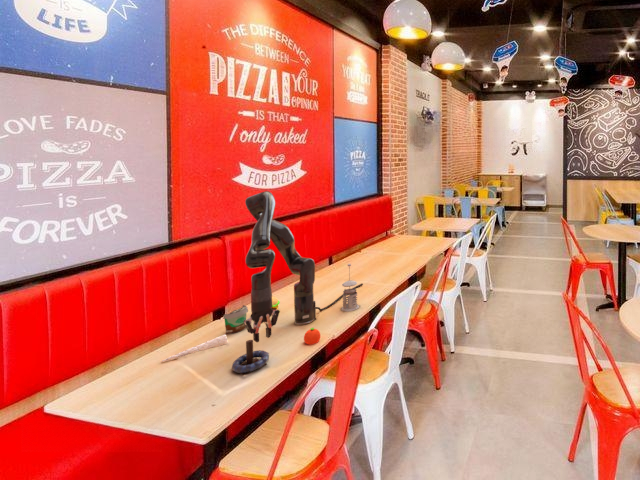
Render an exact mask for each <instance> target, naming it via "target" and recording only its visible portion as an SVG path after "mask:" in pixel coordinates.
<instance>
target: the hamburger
mask: <svg viewBox="0 0 640 480" xmlns="http://www.w3.org/2000/svg"><path fill="white" fill-rule="evenodd" d="M280 303H281V301H280V300H279V299H278V298H277V297H276V296H274V295H272V309H273V310H275V309H276V310H279V305H280Z"/></svg>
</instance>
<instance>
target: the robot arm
mask: <svg viewBox="0 0 640 480" xmlns="http://www.w3.org/2000/svg"><path fill="white" fill-rule="evenodd" d="M244 203H245V207H246V209H247V211H248V212H249V213H250V215H251V216H252V217H253V218H254V219H255V220H256V221H257V222H255V225H254V226H253V229H252V232H251V243H250V246H249V249H248V251H247V253H246V256H245V261H244V262H245V265H246V267H248V268H249V269H258V268H264V267H265V268H264V269H263V270H261V271H258V272H255V273H253V274H252V275H251V278H250V283H251V285H250V286H251V290H250V312H251V313H250V317H249V318H246V320H244V321H243V322H244V324H245V327H246V328H245V329H246V331H247V332H248V333H249V334H252V337H253V339H252V340H253V342H256V343H259V342H260V333H259V331H260V328H261V325H262V324H263V323H264V324H265V337H266V338H267V339H270V338H271V336H272V328H273V327H274V326H276V325H277V322H278V319H279V315H280V312H281V311H280V310H279V309H278V310H276V309H275V310H273V309H272V296H273V289H272V270H273V266H274V263H275V260H276V253H275V251H274V250H273V249H272V248H269V247H270V245H271V242H272V244H273V245H274V247H275V248H276V249H277V250H278V252H279V254H280V255H281V256H282V258H283V259H284V261H285V263H286V265H287V267H288V269H289V272H291V274H293V275H295V276H299V281H297V282H296V283H294V285H293V307H294V308H293V309H294V313H293V314H294V324H295V325H297V326H304V325H308V324H311V323H313V322H314V321H315V320H316V319H317V316H316V315H317V313H316V312H317V310H318V311H319V312H322V311H325V310H326V309H328V308H330V307H332V306H333V305H335V304H336V302H338V301H339V300H340V299H341V298H343V294H341V295H340V296H339V297H338V298H336V299H335V300H333V302H331V303H329V304H328V305H327V306H325V307H323V308H321V307H319V306H317V305H316V301H315V300H314V298H315V297H314V296H315V295H314V293H315V292H314V284H315V281H316V262H315V259H313V258H310V257H305V256H301V254H300V253H299V252H298V250H297V249H296V246H295V243H296V242H295V240H296V239H295V236H294V234H293V233H292V231H291V230H290V228H289V226H287V225H286V224H285V223H284V222H283V223H282V222H281V221H278V220H275V219H273V218H274V215H275V210H276V198H275V196H274V194H273V193H272V192H271V191H268V190H265V191H261V192H258V193H256V194H252V195H250V196H248V197H247V198H245V200H244ZM363 285H364V283H360V284H357V285H355V286H353V287H352V288H351V289H357V288H359V287H361V286H363ZM252 322H253V325H252Z"/></svg>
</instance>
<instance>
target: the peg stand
mask: <svg viewBox="0 0 640 480" xmlns="http://www.w3.org/2000/svg"><path fill="white" fill-rule="evenodd" d="M253 351H254V340H253V339H248V340H245V354H246V361H245V362H243V363H242V364H240V365H249V364H252V363H255V362H257V361H259V360H260V359H259V358H253ZM267 365H268V363H267V362H266V363H265V364H264V365H263V366H262V367H261V368H263V367H265V366H267ZM254 371H255V370H253V371H250V372H247V373H240V374H241V375H242V376H244V375H247V374H249V373H251V372H252V373H253V372H254Z"/></svg>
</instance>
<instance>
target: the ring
mask: <svg viewBox="0 0 640 480" xmlns="http://www.w3.org/2000/svg"><path fill="white" fill-rule="evenodd" d="M254 358H257V359H259V358H260V359H259V361H257V362H255V363H252V364H249V365H240V364H243V363H245V362H246V353H245V354H242V355H240V356H239V357H238V358H236V359H235V360H234V361H233V362H232V365H231V371H233V372H234V373H237V374H241V373H247V372H249V373H251V372H250V371H252V372H254V371H256V370H259V369H261V368H263V367H264V366H263V365H264V364H265V363H266V364H267V362H269V359H270V353H269V352H268V351H265V350H263V349H262V350H253V359H254ZM262 366H263V367H262ZM253 370H254V371H253ZM247 374H248V373H247Z"/></svg>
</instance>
